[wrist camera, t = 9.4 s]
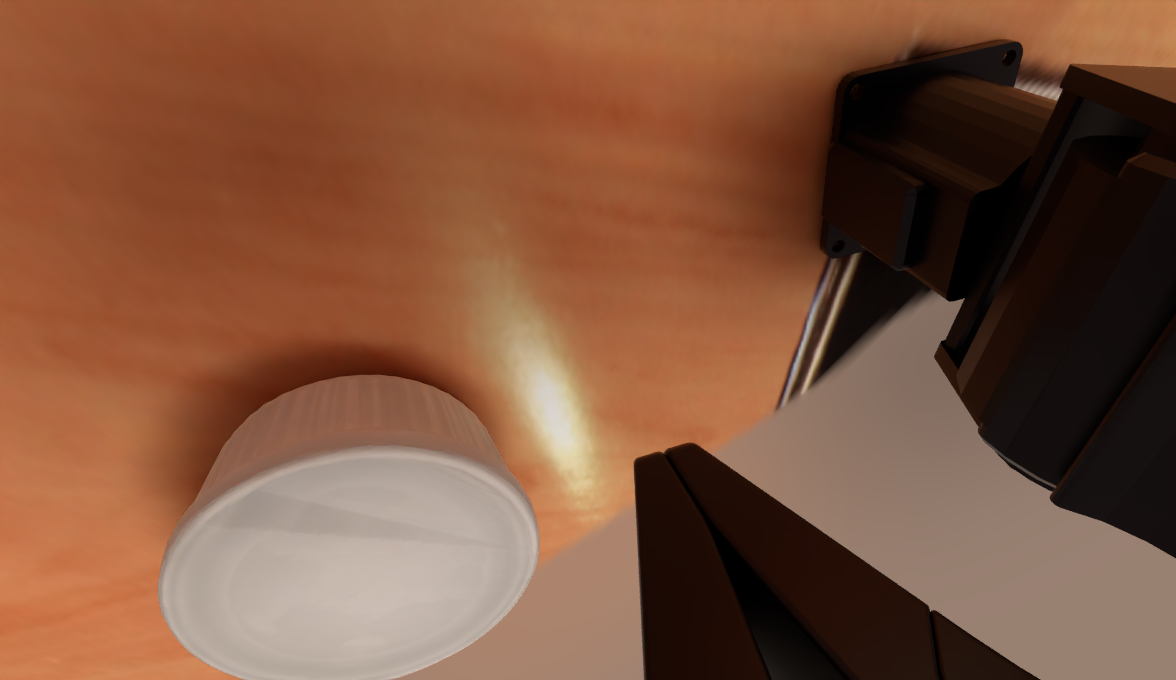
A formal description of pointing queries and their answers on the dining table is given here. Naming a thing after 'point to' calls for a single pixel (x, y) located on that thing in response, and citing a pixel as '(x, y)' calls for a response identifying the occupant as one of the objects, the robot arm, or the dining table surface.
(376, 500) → the ramekin
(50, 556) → the dining table surface
